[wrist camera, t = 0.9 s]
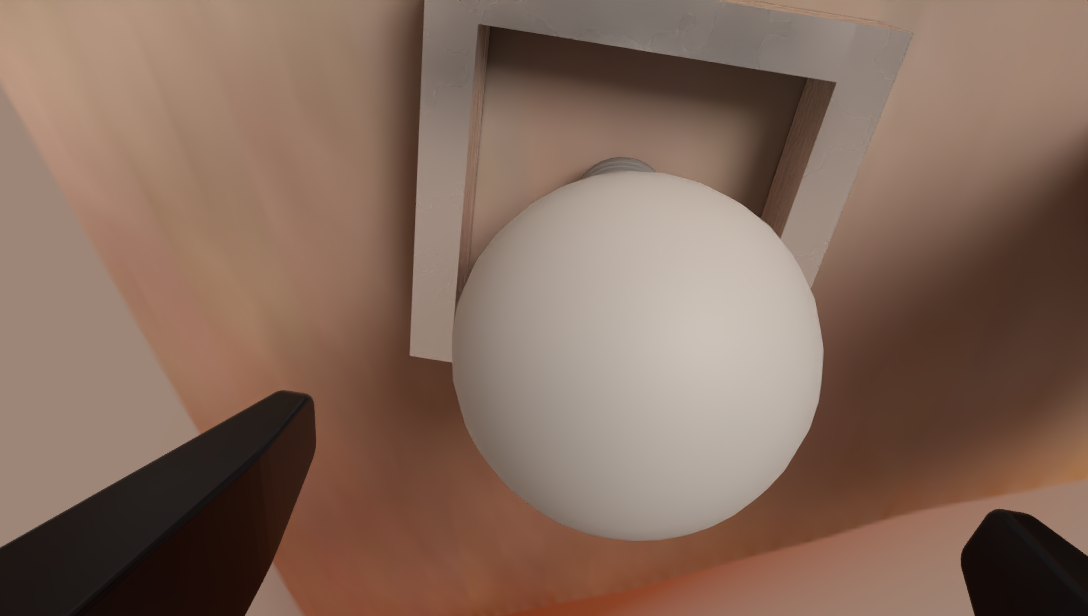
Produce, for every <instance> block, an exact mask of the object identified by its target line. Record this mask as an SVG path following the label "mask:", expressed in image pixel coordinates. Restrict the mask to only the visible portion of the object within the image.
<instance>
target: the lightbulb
mask: <svg viewBox="0 0 1088 616" xmlns="http://www.w3.org/2000/svg"><path fill="white" fill-rule="evenodd" d="M823 352H824V349H823V342H822V336H821V329H820V324H819V319H818V314H817V308H816V303H815V298H814V296H813V294H812V292H811V290H810V287H809V285H808V283H807V281H806V279H805V277H804V275H803V272H802V270H801V268H800V266H799V265H798V263H797V261H796V260H795V258H794V256H793V255H792V253H791V252H790V251H789V249H788V248H787V247H786V246H785V244H784V243H783V242H782V241H781V239H780V238H779V237H778V236H777V234H776V233H775V232H774V231H773V229H772V228H771V227H770V226H769V225H768V224H766V223H765V222H764V221H763V220H761V219H760V218H759V217H757V216H756V215H755V214H754V213H752V212H751V211H750V210H749V209H747V208H746V207H745V206H743V205H742V204H740V203H739V202H737V201H735V200H733V199H732V198H730V197H728V196H726V195H724V194H722V193H720V192H718V191H716V190H714V189H712V188H710V187H708V186H706V185H704V184H702V183H700V182H697V181H693V180H689V179H685V178H681V177H678V176H674V175H670V174H666V173H657V172H656V171H655V170H654V169H653V168H651V167H650V166H649V165H647V164H646V163H644V162H642V161H639V160H636V159H633V158H626V157H617V158H610V159H607V160H604V161H601V162H600V163H598V164H596V165H594V166H593V167H592V168H590V169H589V170H588V171H587V172H586V173H585V174H584V175H583V177H582V178H581V179H580V180H579V181H576V182H573V183H570V184H567V185H564V186H561V187H559V188H558V189H556V190H554V191H552V192H550V193H549V194H547V195H545V196H543V197H542V198H540V199H538V200H536V201H534V202H533V203H531V204H530V205H529V206H528V207H527V208H526V209H524V210H523V211H522V212H521V213H520V214H519V215H517V216H516V217H515V218H514V219H513V220H512V221H510V222H509V223H508V224H507V225H506V226H505V227H503V228H502V229H501V230H500V231H499V232H498V233H497V234H496V235H495V236H494V238H493V239H492V240H491V242H490V243H489V244H488V245H487V247H486V248H485V249H484V251H483V252H482V253H481V255H480V256H479V257H478V259H477V260H476V263H475V265H474V267H473V269H472V271H471V274H470V276H469V278H468V280H467V282H466V284H465V287H464V289H463V292H462V294H461V297H460V299H459V302H458V306H457V311H456V316H455V321H454V326H453V331H452V367H453V383H454V386H455V390H456V394H457V398H458V401H459V405H460V408H461V412H462V416H463V419H464V423H465V426H466V428H467V430H468V432H469V434H470V436H471V438H472V440H473V441H474V443H475V445H476V447H477V449H478V451H479V452H480V454H481V455H482V456H483V458H484V459H485V460H486V462H487V463H488V464H489V466H490V467H491V468H492V469H493V470H494V472H495V473H496V474H497V475H498V476H499V478H500V479H501V480H502V481H503V482H504V484H505V485H506V486H507V487H508V488H509V489H511V490H512V491H513V492H514V493H516V494H517V495H518V496H519V497H520V498H522V499H523V500H524V501H525V502H526V503H528V504H529V505H531V506H532V507H533V508H535V509H536V510H538V511H539V512H540V513H542V514H544V515H546V516H547V517H549V518H551V519H553V520H554V521H556V522H558V523H560V524H562V525H564V526H567V527H570V528H572V529H575V530H577V531H580V532H583V533H586V534H590V535H595V536H599V537H603V538H608V539H617V540H628V541H648V540H663V539H669V538H674V537H680V536H685V535H689V534H692V533H695V532H698V531H701V530H704V529H707V528H710V527H712V526H714V525H716V524H718V523H720V522H722V521H724V520H726V519H728V518H730V517H732V516H734V515H735V514H736V513H738V512H739V511H740V510H742V509H743V508H744V507H746V506H747V505H748V504H750V503H751V502H752V501H754V500H755V499H756V498H757V497H759V496H760V495H761V494H762V493H763V492H765V491H766V490H767V489H768V488H769V487H770V486H771V485H772V484H773V482H774V481H775V480H776V479H777V478H778V477H779V476H780V475H781V474H782V473H783V472H784V471H785V469H786V468H787V466H788V464H789V463H790V461H791V459H792V458H793V456H794V454H795V453H796V451H797V449H798V448H799V446H800V444H801V443H802V441H803V439H804V438H805V436H806V434H807V433H808V431H809V429H810V427H811V424H812V421H813V417H814V414H815V411H816V408H817V405H818V402H819V396H820V389H821V381H822V367H823Z"/></svg>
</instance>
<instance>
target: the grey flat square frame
mask: <svg viewBox="0 0 1088 616" xmlns="http://www.w3.org/2000/svg"><path fill="white" fill-rule="evenodd" d="M490 26H495V27H501V28H507V29H513V30H519V31H526V32H532V33H538V34H544V35H550V36H556V37H562V38H569V39H575V40H581V41H587V42H593V43H599V44H605V45H611V46H618V47H624V48H630V49H636V50H642V51H648V52H654V53H660V54H667V55H673V56H679V57H685V58H691V59H697V60H703V61H710V62H716V63H722V64H728V65H734V66H740V67H746V68H752V69H759V70H765V71H771V72H777V73H783V74H789V75H795V76H801V77H808V78H807V81H806V84H805V87H804V90H803V93H802V96H801V98H800V101H799V104H798V107H797V110H796V113H795V116H794V119H793V122H792V125H791V128H790V131H789V134H788V137H787V140H786V143H785V146H784V149H783V152H782V155H781V158H780V161H779V164H778V167H777V170H776V173H775V176H774V179H773V182H772V185H771V188H770V191H769V194H768V197H767V200H766V203H765V206H764V209H763V212H762V215H761V218H760V219H761V220H763V221H764V222H765V223H766V224H768V225H769V226H770V227H771V228H772V229H773V231H774V232H775V233H776V234H777V236H778V237H779V238H780V239H781V241H782V242H783V243H784V244H785V246H786V247H787V248H788V249H789V251H790V252H791V253H792V255H793V256H794V258H795V260H796V261H797V263H798V265H799V266H800V268H801V270H802V272H803V275H804V277H805V279H806V281H807V283H808V285H809V287H810V290H811V287H812V285H813V282H814V280H815V277H816V275H817V272H818V270H819V267H820V265H821V262H822V260H823V257H824V255H825V252H826V250H827V247H828V245H829V242H830V240H831V237H832V235H833V232H834V230H835V227H836V225H837V223H838V220H839V218H840V215H841V213H842V210H843V208H844V205H845V203H846V200H847V198H848V195H849V193H850V190H851V188H852V185H853V183H854V180H855V178H856V175H857V173H858V170H859V168H860V165H861V163H862V161H863V158H864V156H865V153H866V151H867V148H868V146H869V143H870V141H871V138H872V136H873V133H874V131H875V128H876V126H877V123H878V121H879V118H880V116H881V113H882V111H883V108H884V106H885V103H886V101H887V98H888V96H889V94H890V91H891V89H892V86H893V84H894V81H895V79H896V76H897V74H898V71H899V69H900V66H901V64H902V61H903V59H904V56H905V54H906V51H907V49H908V46H909V44H910V41H911V39H912V36H913V34H914V33H913V32H909V31H906V30H903V29H900V28H897V27H894V26H891V25H888V24H885V23H882V22H878V21H872V20H866V19H860V18H854V17H848V16H842V15H835V14H829V13H823V12H817V11H811V10H805V9H799V8H793V7H787V6H780V5H774V4H768V3H762V2H756V1H750V0H425V2H424V26H423V50H422V74H421V98H420V122H419V146H418V169H417V193H416V217H415V241H414V265H413V289H412V313H411V337H410V356H415V357H421V358H427V359H433V360H440V361H446V362H452V331H453V326H454V321H455V316H456V311H457V306H458V302H459V299H460V297H461V294H462V292H463V289H464V287H465V284H466V282H467V276H468V265H469V254H470V243H471V232H472V221H473V210H474V199H475V188H476V177H477V166H478V155H479V144H480V133H481V122H482V111H483V100H484V89H485V78H486V67H487V56H488V45H489V34H490Z"/></svg>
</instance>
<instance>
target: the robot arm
mask: <svg viewBox="0 0 1088 616" xmlns="http://www.w3.org/2000/svg"><path fill="white" fill-rule="evenodd" d="M315 448H316V430H315V411H314V401H313V399H312V397H311V396H310V395H308V394H304V393H298V392H292V391H286V390H281V391H278V392H275V393H273V394H272V395H270V396H268V397H266V398H265V399H263V400H261V401H259V402H257V403H256V404H254V405H252V406H250V407H249V408H247V409H245V410H243V411H242V412H240V413H238V414H236V415H234V416H233V417H231V418H229V419H227V420H226V421H224V422H222V423H220V424H218V425H217V426H215V427H213V428H211V429H210V430H208V431H206V432H204V433H202V434H201V435H199V436H197V437H196V438H194V439H192V440H190V441H188V442H187V443H185V444H183V445H181V446H179V447H178V448H176V449H174V450H172V451H171V452H169V453H167V454H165V455H164V456H162V457H160V458H158V459H157V460H155V461H153V462H151V463H149V464H148V465H146V466H144V467H142V468H141V469H139V470H137V471H135V472H133V473H132V474H130V475H128V476H126V477H124V478H123V479H121V480H119V481H117V482H116V483H114V484H112V485H110V486H108V487H107V488H105V489H103V490H101V491H100V492H98V493H96V494H95V495H93V496H91V497H89V498H88V499H86V500H84V501H82V502H80V503H79V504H77V505H75V506H73V507H71V508H70V509H68V510H66V511H64V512H62V513H61V514H59V515H57V516H55V517H54V518H52V519H50V520H48V521H46V522H45V523H43V524H41V525H39V526H38V527H36V528H34V529H32V530H30V531H29V532H27V533H25V534H24V535H22V536H20V537H18V538H16V539H15V540H13V541H11V542H9V543H7V544H6V545H4V546H2V547H0V616H245V614H246V613H247V611H248V609H249V607H250V605H251V603H252V601H253V599H254V597H255V595H256V593H257V591H258V590H259V588H260V586H261V584H262V582H263V580H264V578H265V576H266V574H267V572H268V570H269V568H270V566H271V564H272V561H273V559H274V556H275V554H276V552H277V549H278V547H279V544H280V542H281V539H282V537H283V534H284V531H285V529H286V526H287V524H288V521H289V519H290V516H291V514H292V511H293V508H294V506H295V503H296V501H297V498H298V496H299V493H300V490H301V488H302V485H303V483H304V480H305V478H306V475H307V473H308V470H309V467H310V465H311V462H312V460H313V456H314V453H315ZM961 568H962V572H963V575H964V579H965V582H966V586H967V590H968V593H969V597H970V600H971V604H972V607H973V611H974V614H975V616H1088V556H1087V555H1085V554H1084V553H1083V552H1081V551H1080V550H1079V549H1077V548H1076V547H1074V546H1073V545H1072V544H1070V543H1069V542H1068V541H1066V540H1065V539H1063V538H1062V537H1061V536H1059V535H1058V534H1057V533H1055V532H1054V531H1053V530H1051V529H1050V528H1048V527H1047V526H1046V525H1044V524H1043V523H1042V522H1040V521H1039V520H1038V519H1036V518H1034V517H1033V516H1031V515H1029V514H1026V513H1022V512H1016V511H1010V510H1004V509H996V510H993V511H992V512H990V513H988V514H987V515H986V517H985V518H984V520H983V521H982V523H981V524H980V525H979V527H978V528H977V530H976V531H975V532H974V534H973V535H972V537H971V538H970V539H969V541H968V542H967V543H966V545H965V546H964V548H963V551H962V554H961Z"/></svg>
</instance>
